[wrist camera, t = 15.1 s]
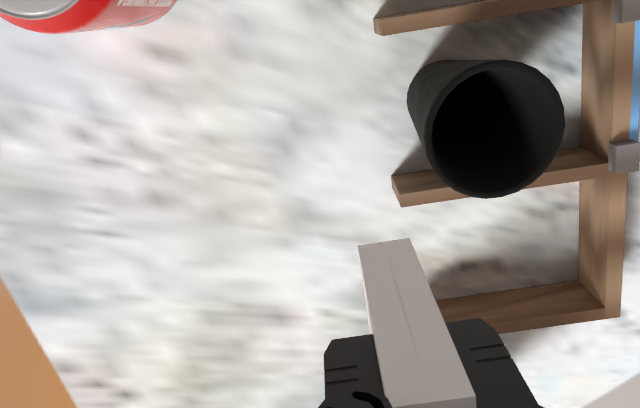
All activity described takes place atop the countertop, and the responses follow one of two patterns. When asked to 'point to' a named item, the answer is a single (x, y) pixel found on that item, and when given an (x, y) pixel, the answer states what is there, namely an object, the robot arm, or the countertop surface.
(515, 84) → the cup
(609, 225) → the comb rack
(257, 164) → the countertop surface
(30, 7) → the soda can
